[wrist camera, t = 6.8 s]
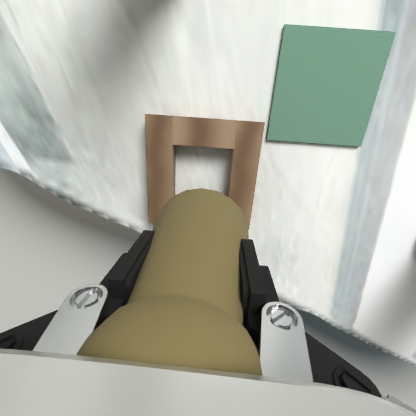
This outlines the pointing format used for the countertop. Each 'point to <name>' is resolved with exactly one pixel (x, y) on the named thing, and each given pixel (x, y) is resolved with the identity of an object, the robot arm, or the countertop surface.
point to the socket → (202, 137)
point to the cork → (186, 293)
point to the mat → (327, 84)
